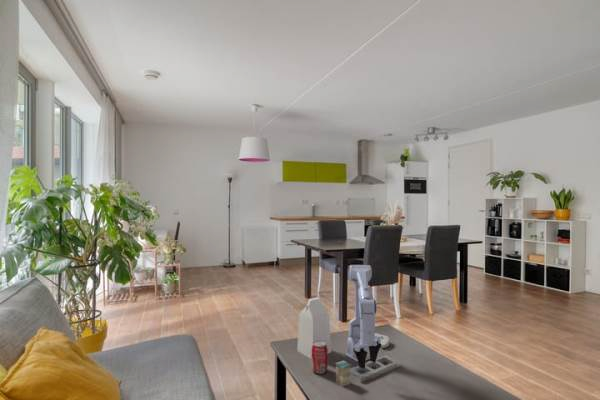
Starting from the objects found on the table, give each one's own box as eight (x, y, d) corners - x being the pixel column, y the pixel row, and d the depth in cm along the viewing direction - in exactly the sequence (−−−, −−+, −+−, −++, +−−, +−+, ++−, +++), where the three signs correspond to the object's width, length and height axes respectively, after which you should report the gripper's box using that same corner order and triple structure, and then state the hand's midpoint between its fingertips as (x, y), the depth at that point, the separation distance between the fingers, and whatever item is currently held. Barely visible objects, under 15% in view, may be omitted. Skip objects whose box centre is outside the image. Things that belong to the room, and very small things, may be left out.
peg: (335, 382, 140) (335, 363, 140) (343, 379, 142) (343, 360, 142) (342, 387, 136) (342, 367, 136) (350, 383, 139) (350, 364, 138)
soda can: (318, 365, 154) (319, 338, 154) (330, 370, 149) (331, 343, 149) (308, 370, 149) (308, 343, 149) (320, 376, 144) (320, 348, 144)
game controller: (358, 337, 177) (367, 327, 185) (359, 344, 178) (368, 334, 186) (384, 344, 168) (392, 334, 176) (385, 352, 169) (393, 342, 177)
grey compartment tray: (347, 374, 146) (347, 369, 146) (385, 359, 159) (385, 355, 159) (360, 382, 139) (360, 377, 139) (399, 366, 153) (399, 361, 153)
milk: (312, 359, 159) (312, 304, 158) (297, 350, 168) (297, 298, 167) (331, 352, 166) (331, 299, 166) (315, 344, 175) (315, 294, 175)
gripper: (365, 337, 127) (365, 374, 127) (386, 328, 137) (386, 362, 137) (350, 332, 132) (350, 367, 132) (371, 323, 143) (371, 356, 142)
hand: (367, 364), depth 135 cm, fingers open, 7 cm apart
